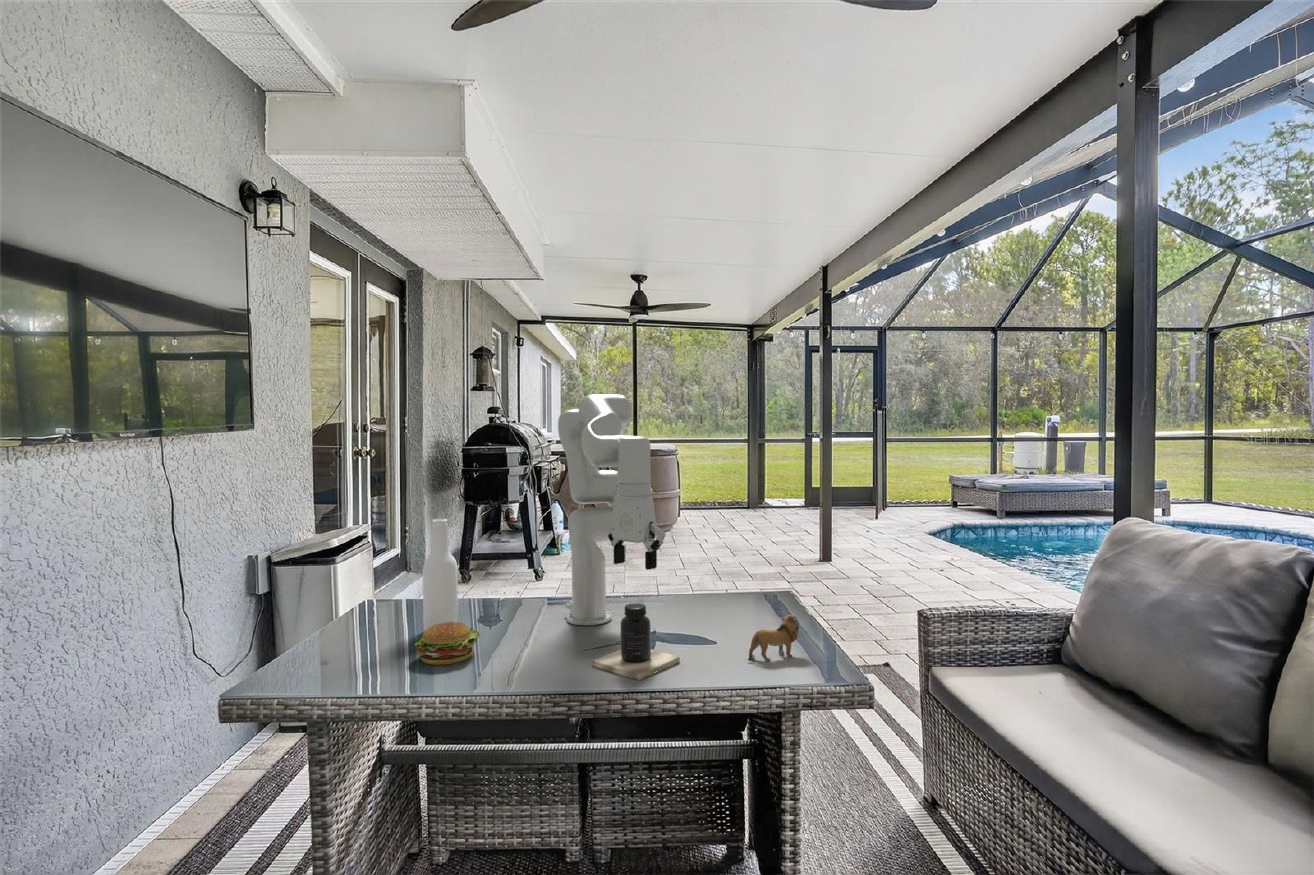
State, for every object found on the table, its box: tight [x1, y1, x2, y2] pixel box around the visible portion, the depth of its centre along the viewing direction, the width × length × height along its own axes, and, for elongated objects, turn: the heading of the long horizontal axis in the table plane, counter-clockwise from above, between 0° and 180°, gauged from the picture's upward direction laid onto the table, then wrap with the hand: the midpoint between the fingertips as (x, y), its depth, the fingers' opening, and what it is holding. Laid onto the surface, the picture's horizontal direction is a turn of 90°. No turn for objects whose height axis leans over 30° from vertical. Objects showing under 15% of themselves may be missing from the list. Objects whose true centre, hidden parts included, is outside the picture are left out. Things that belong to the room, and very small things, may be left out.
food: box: [414, 621, 480, 666], centre depth 150 cm, size 14×14×8 cm
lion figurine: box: [747, 614, 800, 662], centre depth 148 cm, size 15×5×9 cm, turn 120°
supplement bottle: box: [620, 602, 652, 663], centre depth 144 cm, size 7×7×12 cm
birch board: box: [592, 648, 680, 681], centre depth 144 cm, size 14×14×1 cm
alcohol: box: [422, 518, 459, 632], centre depth 171 cm, size 9×9×30 cm
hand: (634, 565), depth 145 cm, fingers open, 9 cm apart
